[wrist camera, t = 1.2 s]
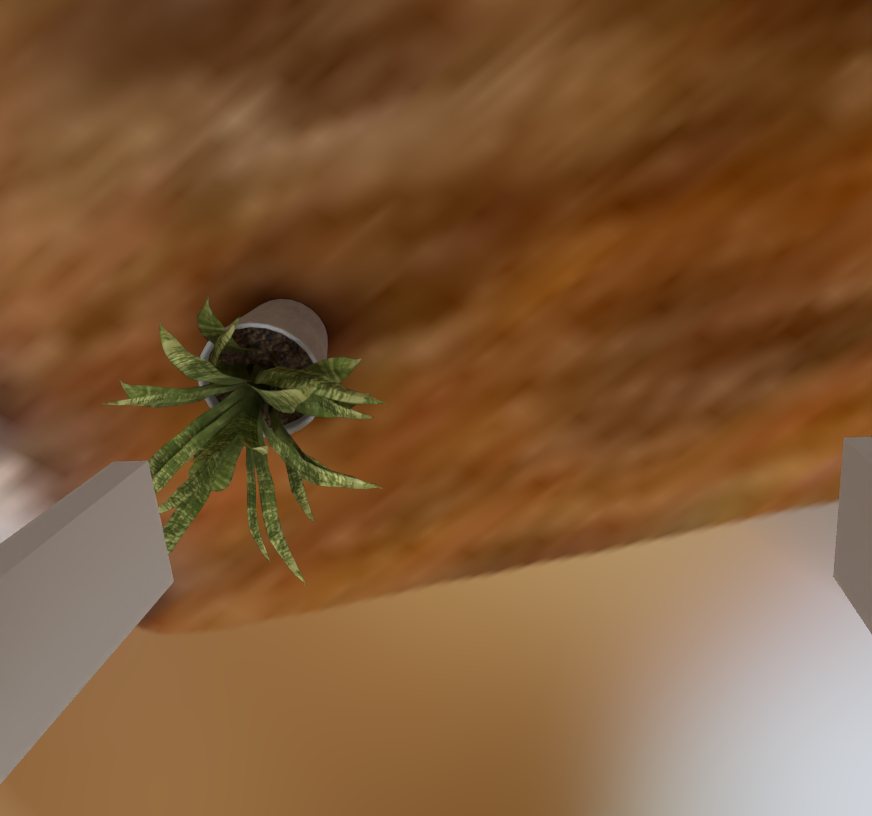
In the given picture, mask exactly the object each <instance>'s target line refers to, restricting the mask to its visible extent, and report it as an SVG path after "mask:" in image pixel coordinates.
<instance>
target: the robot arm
mask: <svg viewBox="0 0 872 816" xmlns="http://www.w3.org/2000/svg"><path fill="white" fill-rule="evenodd" d="M833 577H834V578H835V580H836V581H837V582H838V584H839V586H840V587H841V589H842V590H843V591H844V593H845V595H846V596H847V598H848V599H849V601H850V602H851V604H852V605H853V607H854V608H855V610H856V611H857V613H858V614H859V616H860V617H861V619H862V620H863V621H864V623H865V624H866V626H867V628H868V629H869V631H870V632H871V634H872V437H852V438H844V443H843V456H842V470H841V483H840V496H839V509H838V522H837V536H836V548H835V562H834V576H833ZM173 582H174V580H173V576H172V571H171V566H170V561H169V557H168V552H167V547H166V543H165V538H164V533H163V529H162V524H161V519H160V514H159V510H158V505H157V500H156V496H155V491H154V486H153V482H152V477H151V472H150V468H149V463H148V461H126V462H112V463H111V464H109V465H108V466H107V467H105V468H104V469H102V470H101V471H100V472H98V473H97V474H96V475H94V476H93V477H91V478H90V479H89V480H87V481H86V482H85V483H83V484H82V485H80V486H79V487H78V488H76V489H75V490H74V491H72V492H71V493H69V494H68V495H67V496H65V497H64V498H63V499H61V500H60V501H58V502H57V503H56V504H54V505H53V506H52V507H50V508H49V509H48V510H46V511H45V512H43V513H42V514H41V515H39V516H38V517H37V518H35V519H34V520H32V521H31V522H30V523H28V524H27V525H26V526H24V527H23V528H21V529H20V530H19V531H17V532H16V533H15V534H13V535H12V536H10V537H9V538H8V539H6V540H5V541H4V542H2V543H1V544H0V784H1V783H2V781H3V780H4V779H5V778H6V777H7V776H8V775H9V773H10V772H11V771H12V770H13V769H14V768H15V766H16V765H17V764H18V763H19V762H20V761H21V759H22V758H23V757H24V756H25V755H26V754H27V752H28V751H29V750H30V749H31V748H32V747H33V745H34V744H35V743H36V742H37V741H38V740H39V738H40V737H41V736H42V735H43V734H44V732H45V731H46V730H47V729H48V728H49V727H50V725H51V724H52V723H53V722H54V721H55V720H56V719H57V717H58V716H59V715H60V714H61V713H62V712H63V710H64V709H65V708H66V707H67V706H68V704H69V703H70V702H71V701H72V700H73V699H74V698H75V696H76V695H77V694H78V693H79V692H80V691H81V689H82V688H83V687H84V686H85V685H86V684H87V682H88V681H89V680H90V679H91V678H92V676H93V675H94V674H95V673H96V672H97V671H98V669H99V668H100V667H101V666H102V665H103V664H104V663H105V661H106V660H107V659H108V658H109V656H111V654H112V653H113V652H114V651H115V650H116V648H117V647H118V646H119V645H120V644H121V643H122V641H123V640H124V639H125V638H126V637H127V636H128V634H129V633H130V632H131V631H132V630H133V629H134V627H135V626H136V625H137V624H138V623H139V622H140V620H141V619H142V618H143V617H144V616H145V615H146V613H147V612H148V611H149V610H150V609H151V608H152V606H153V605H154V604H155V603H156V602H157V601H158V599H159V598H160V597H161V596H162V595H163V594H164V592H165V591H166V590H167V589H168V588H169V587H170V585H171V584H172V583H173Z"/></svg>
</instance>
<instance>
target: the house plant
mask: <svg viewBox="0 0 872 816" xmlns="http://www.w3.org/2000/svg"><path fill="white" fill-rule="evenodd" d="M197 319H198V327H199V329H200V332H201V333H202V334H203V336H204V337H205V338H206V339H207V340H209V341H208V342H207V344H206V346H205V348H204V349H203V351H202V353H201V355H200V358H199V357H196V356H194V355H192V354H190V353H188V352H187V351H186V350H185V349H184V348H183V346H182V345H181V344H180V343H179V342H178V340H177V339H176V338H175V337H174V336H172V335H171V334H170V333H169V332H167V331H166V330H165V329H164V328H163V327H162V324H160V336H161V341H162V346H163V350H164V352H165V353H166V355H167V357H168V358H169V360H170V362H171V363H172V364H173V365H174V366H176V367H177V368H178V369H179V370H180V371H181V372H183V373H184V374H185V375H186V376H187V377H189V378H191V379H193V380H198V381H199V386H200V387H193V388H186V389H179V388H164V387H154V386H141V385H128V384H125V383H122V382H121V384H122V386H123V388H124V390H125V392H126V393H127V395H128V397H129V399H125V400H120V401H115V402H109V403H105V404H110V405H143V406H147V407H168V406H176V405H183V404H188V403H192V402H196V401H200V400H202V399H205V401H206V402H207V404H208V405H209V407H210V408H211V409H210V410H208V411H206V412H205V413H203V414H202V415H200V416H199V417H198V418H197V419H195V420H194V421H193V422H192V423H191V424H190V425H188V426H187V427H186V428H185V429H184V430H183V431H182V432H180V433H179V434H178V435H177V436H176V437H174V438H173V439H171V440H170V441H169V442H167V443H166V444H165V445H164V446H163V447H162V448H161V449H160V450H159V451H157V452H156V453H155V454H154V456H153V457H152V458H151V459H150V460H149V461H148V463H149V468H150V472H151V477H152V478H153V477H155V476H156V477H155V478H154V479H153V481H152V482H153V486H154V491H155V494H156V493H157V492H159V491H160V490H161V489H162V488H163V487H164V486H165V485H166V484H167V482H168V481H169V480H170V479H171V477H172V476H173V475H174V474H175V472H176V471H177V470H178V469H179V468H180V467H181V466H182V465H183V464H184V463H185V462H189V461H187V460H189V459H190V458H191V457H192V456H193V455H194V459H193V460H191V461H195V463H194V464H193V465H192V467H191V468H190V470H189V479H188V480H187V481H186V482H185V483H184V484H182V485H181V486H180V487H179V488H178V489H177V490H176V491H175V492H174V493H173V494H172V496H171V497H170V498H169V499H168V500H167V501H166V502H165V503H163V504H162V505H160V506H159V507H158V510H159V514H160V513H163V512H166V511H168V510H170V509H172V508H174V507H176V506H177V505H179V506H178V507H177V509H176V510H175V512H174V513H173V515H172V516H171V518H170V519H169V521H168V522H167V524H166V525H165V527H164V528H163V533H164V538H165V543H166V547H167V552H168V555H169V554H170V553H171V551H172V550H173V548H174V547H175V545H176V544H177V542H178V541H179V539H180V538H181V537H182V535H183V534H184V532H185V531H186V529H187V528H188V526H189V525H190V523H191V522H192V521H193V519H194V518H195V517H196V515H197V514H198V513H199V511H200V510H201V508H202V507H203V505H204V504H205V502H206V501H207V499H208V497H209V494H210V492H211V490H212V491H221V490H224V489H225V488H227V487H228V486H229V484H230V482H231V480H232V477H233V473H234V469H235V465H236V462H237V459H238V457H239V455H240V452H241V450H242V448H243V446H244V445H245V446H246V467H247V510H248V521H249V528H250V531H251V533H252V535H253V538H254V540H255V541H256V543H257V545H258V546H259V548H260V550H261V552H262V553H263V555H264V556H265V557H266V558H267V559H268V560H269V561H270V558H269V556H268V554H267V552H266V549H265V547H264V544H263V541H262V538H261V534H260V530H259V526H258V520H257V514H256V484H255V466H256V471H257V476H258V484H259V492H260V500H261V507H262V514H263V520H264V523H265V527H266V531H267V534H268V538H269V539H270V541H271V543H272V544H273V546H274V547H275V549H276V551H277V552H278V553H279V554H280V556H281V557H282V558H283V560H284V561H285V563H286V564H287V565H288V567H289V568H290V570H291V571H292V572H293V573H294V574H295V575H296V576H297V577H298V578H300V579H301V580H302V581H303V582H304V583H305V580H304V578H303V576H302V574H301V573H300V571H299V569H298V567H297V564H296V562H295V561H294V559H293V557H292V555H291V553H290V550H289V548H288V545H287V543H286V540H285V538H284V535H283V532H282V529H281V525H280V522H279V518H278V514H277V506H276V499H275V491H274V484H273V480H272V477H271V474H270V471H269V466H268V461H267V455H266V454H267V453H268V452H269V451H268V447H269V446H265V444H264V437H266V438H267V440H268V442H269V444H270V445H271V446H272V447H273V449H274V450H275V451H276V452H277V453H278V455H279V456H280V457H281V458H282V459H283V461H284V462H285V464H286V468H287V473H288V478H289V482H290V486H291V491H292V493H293V495H294V496H295V498H296V500H297V501H298V503H299V504H300V505H301V507H302V509H303V511H304V512H305V514H306V515H307V516H308V517H309V518H310V519H311V520H312V521H313V522H314V518H313V516H312V513H311V509H310V507H309V504H308V501H307V497H306V493H305V489H304V485H303V481H302V478H303V479H305V480H306V481H308V482H311V483H314V484H316V485H322V486H331V487H347V488H354V489H369V488H376V487H379V486H377V485H375V484H372V483H368V482H365V481H361V480H358V479H355V478H356V477H353V476H349V475H345V474H342V473H338V472H335V471H331V470H329V469H328V468H327V467H326V466H324V465H323V464H321V463H320V462H318V461H317V460H315V459H313V458H312V457H310V456H308V455H307V454H305V453H304V452H302V451H301V449H300V448H299V447H298V445H297V444H296V443H295V441H294V440H293V439H292V437H291V436H290V435H289V434H292V433H294V432H296V431H299V430H301V429H302V428H304V427H305V426H306V425H307V424H308V423H310V422H311V421H312V420H313V419H314V417H323V418H330V417H337V416H338V417H346V418H355V419H366V418H371V417H372V416H369V415H366V414H362V413H359V412H356V411H353V410H350V409H351V408H352V407H353V406H355V405H356V404H383V402H381V401H379V400H377V399H375V398H374V397H372V396H370V395H368V394H370V393H368V394H363V393H359V392H356V391H352V390H349V389H346V388H345V387H343V386H341V385H340V384H338V383H340V382H341V381H343V380H344V379H345V378H346V377H347V376H348V375H349V374H350V373H351V372H352V371H353V369H354V368H355V367H356V365H357V364H358V363H359V362H360V361H361V360H362V359H363V358H361V359H358V360H356V359H351V358H346V357H333V358H329V359H327V350H328V336H327V332H326V329H325V326H324V324H323V323H322V321H321V319H320V318H319V316H318V315H317V314H316V313H315V312H314V311H313V310H312V309H310V308H309V307H307V306H305V305H304V304H302V303H300V302H297V301H294V300H289V299H276V300H270V301H268V302H265V303H263V304H261V305H259V306H258V307H256V308H255V309H253V310H252V311H250V312H249V313H247V314H246V315H244V316H242V317H241V318H240V316H239V317H238V318H237V319H236V320H235V321H234V322H233V323H232V324H230V325H229V326H227V327H226V328H225V327H224V326H223V325H222V323H221V322H220V321H219V320H218V319H217V318H216V316H215V315H214V314H213V312H212V310H211V308H210V306H209V295H208V298H207V301H206V303H205V305H204V307H203V308H202V310H201V311H200V313H199V314H198V316H197ZM120 381H121V380H120ZM384 403H388V402H384ZM372 418H374V417H372ZM380 488H381V487H380ZM382 489H383V488H382ZM270 563H271V561H270ZM305 585H306V583H305Z"/></svg>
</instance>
